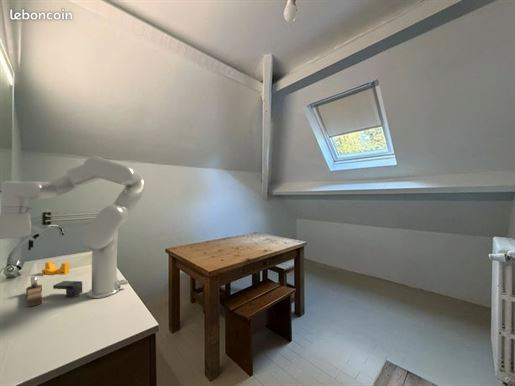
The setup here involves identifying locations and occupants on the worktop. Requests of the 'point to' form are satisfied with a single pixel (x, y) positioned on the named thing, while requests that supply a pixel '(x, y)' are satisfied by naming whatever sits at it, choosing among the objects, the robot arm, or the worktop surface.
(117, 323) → the worktop surface
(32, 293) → the link
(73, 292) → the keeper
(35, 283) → the pintle
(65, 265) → the pipe clamp
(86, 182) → the robot arm
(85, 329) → the worktop surface
